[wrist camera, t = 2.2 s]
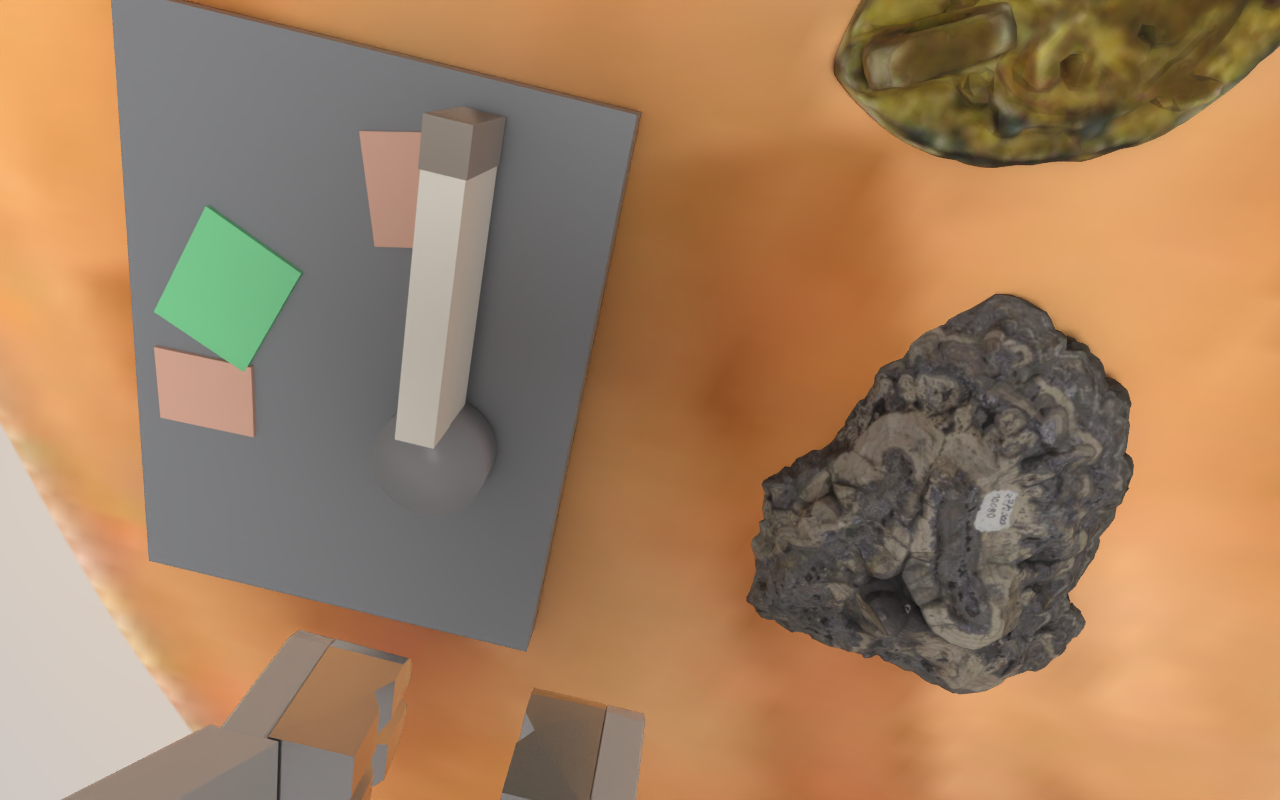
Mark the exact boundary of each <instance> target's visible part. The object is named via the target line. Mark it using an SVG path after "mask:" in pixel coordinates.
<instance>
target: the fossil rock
mask: <svg viewBox="0 0 1280 800" xmlns="http://www.w3.org/2000/svg"><path fill="white" fill-rule="evenodd" d="M1130 407H1131V401H1130V397H1129V394H1128V391H1127V389H1126V388H1125V387H1123V386H1122V385H1121V384H1120V383H1119V382H1117V381H1116V380H1115V379H1112V378H1109V377H1105V371H1104V366H1103V364H1102V362H1101V361H1100V359H1099V358H1097V357H1096V356H1095V355H1093V354H1092V353H1091V352H1090V350H1089V347H1088V346H1087V345H1085V344H1083V343H1079V342H1077V341H1076V339H1074V338H1071V337H1068V336H1065V335H1064V334H1063V333H1062V332H1060V331H1058V330H1055V328H1054V326H1053V323H1052V321H1051V319H1050V317H1049V316H1048V314H1047V312H1045V311H1043V310H1042V309H1040V308H1038V307H1036V306H1034V305H1033V304H1031V303H1030V302H1028V301H1026V300H1023V299H1020V298H1017V297H1014V296H1011V295H1001V294H994V295H993V296H991V297H990V298H988V299H987V300H985V301H983V302H982V303H980V304H978V305H976V306H975V307H973V308H971V309H969V310H967V311H965V312H962V313H960V314H958V315H956V316H954V317H953V318H951V319H949V320H948V321H947V323H946V324H945V325H941V326H939V327H937V328H935V329H932V330H930V331H927V332H925V333H924V334H923V335H922V336H920V337H919V338H918V339H917V340H915V341H914V342H913V343H912V344H911V345H910V348H909V351H908V352H907V353H906V355H905V356H904V358H902V359H899V360H896V361H894V362H891V363H889V364H886V365H885V366H883V367H881V368H880V369H879V371H878V373H877V374H876V376H875V382H874V384H873V386H872V388H871V389H870V391H869V392H868V394H867V396H866V398H865V399H862V400H860V401H859V402H858V403H857V404H856V406H855V408H854V409H853V411H852V412H851V414H850V415H849V417H848V418H847V420H846V422H845V426H844V427H843V428H842V429H841V430H840V431H839V432H838V433H837V435H836V438H835V439H834V440H833V441H832V442H831V443H830V444H829V445H827V446H826V447H825V448H823V449H822V450H812V451H810V452H809V453H807V454H806V455H804V456H802V457H799V458H797V459H796V460H795V462H794V463H793V464H792V466H791V467H786V466H785V467H784V468H783V469H782V470H781V471H780V472H779V473H777V474H775V475H773V476H771V477H768V479H766V480H764V481H763V483H762V486H763V489H764V492H765V495H764V503H763V515H764V520H762V521H760V522H759V525H760V533H759V534H758V535H757V536H755V537H754V538H753V539H752V541H751V546H752V549H753V552H754V555H755V565H756V574H755V577H754V581H753V584H752V586H751V590H750V592H749V594H748V596H747V602H748V603H750V604H752V605H753V606H755V609H756V612H757V613H758V614H759V615H760V616H761V617H762V618H765V619H769V620H775V621H776V622H777V623H778V624H780V625H781V626H783V627H784V628H786V629H787V630H789V631H790V632H803V633H806V634H809V635H810V636H811V637H812V639H815V640H817V641H819V642H821V643H823V644H825V645H828V646H831V647H836V648H840V649H843V650H846V651H848V652H856V653H859V654H862V655H863V657H864V658H871V657H873V656H874V655H879V656H880V657H881V658H882V659H883V660H884V661H887V662H890V663H892V664H895V665H896V666H898V667H900V668H902V669H903V670H906V671H913V672H914V673H916V674H917V675H919V676H920V677H921V678H922V679H924V680H925V681H927V682H929V683H931V684H935V685H939V686H940V687H942V688H944V689H946V690H948V691H950V692H952V693H958V694H967V693H977V692H982V691H987V690H989V689H991V688H993V687H995V686H997V685H999V684H1001V683H1002V682H1003V681H1004V680H1005V679H1006V678H1008V677H1011V676H1014V675H1017V674H1020V673H1023V672H1025V671H1028V670H1029V671H1035V672H1036V671H1038V670H1040V669H1042V668H1044V667H1046V666H1047V665H1048V664H1049V663H1050V661H1051V660H1052V659H1054V658H1056V657H1058V656H1060V655H1061V654H1062V653H1063V652H1064V651H1065V649H1066V645H1067V644H1068V643H1069V642H1070V641H1071V639H1072V638H1074V637H1077V636H1078V635H1079V633H1080V632H1081V631H1082V630H1083V628H1084V626H1085V620H1084V618H1083V616H1082V614H1081V611H1080V610H1079V609H1078V608H1076V607H1075V606H1074V605H1073V603H1070V600H1069V596H1068V593H1069V592H1070V591H1071V590H1072V589H1073V588H1074V587H1075V586H1076V584H1077V582H1078V580H1079V579H1080V577H1081V576H1082V575H1083V573H1084V572H1085V570H1086V568H1087V567H1088V565H1089V564H1090V563H1091V561H1092V560H1093V559H1094V556H1095V553H1096V551H1097V549H1098V547H1099V543H1100V539H1099V537H1100V536H1101V535H1102V533H1103V532H1104V531H1105V530H1106V529H1107V528H1108V527H1109V525H1110V524H1111V522H1112V521H1113V520H1114V518H1115V512H1116V507H1117V506H1119V505H1120V504H1121V503H1122V501H1123V498H1124V495H1125V493H1126V492H1127V490H1128V489H1129V488H1128V485H1129V483H1130V480H1131V477H1132V475H1133V467H1134V465H1133V461H1132V458H1131V457H1130V456H1129V455H1128V454H1126V453H1125V451H1126V448H1127V442H1128V434H1129V428H1130V424H1129V412H1130Z"/></svg>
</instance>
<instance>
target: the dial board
mask: <svg viewBox="0 0 1280 800" xmlns="http://www.w3.org/2000/svg"><path fill="white" fill-rule="evenodd" d="M111 4H112V19H113V34H114V49H115V63H116V78H117V93H118V108H119V123H120V138H121V152H122V167H123V182H124V197H125V212H126V227H127V241H128V256H129V271H130V286H131V301H132V316H133V330H134V345H135V360H136V375H137V390H138V405H139V419H140V434H141V449H142V464H143V479H144V494H145V508H146V523H147V538H148V553H149V561H153V562H157V563H161V564H165V565H169V566H173V567H178V568H182V569H186V570H190V571H194V572H198V573H202V574H207V575H211V576H215V577H219V578H223V579H227V580H232V581H236V582H240V583H244V584H248V585H252V586H256V587H261V588H265V589H269V590H273V591H277V592H281V593H285V594H290V595H294V596H298V597H302V598H306V599H310V600H314V601H319V602H323V603H327V604H331V605H335V606H339V607H343V608H348V609H352V610H356V611H360V612H364V613H368V614H372V615H377V616H381V617H385V618H389V619H393V620H397V621H402V622H406V623H410V624H414V625H418V626H422V627H426V628H431V629H435V630H439V631H443V632H447V633H451V634H455V635H460V636H464V637H468V638H472V639H476V640H480V641H484V642H489V643H493V644H497V645H501V646H505V647H509V648H513V649H518V650H522V651H527V648H528V645H529V642H530V639H531V636H532V633H533V630H534V625H535V621H536V616H537V611H538V606H539V601H540V597H541V592H542V587H543V582H544V577H545V573H546V568H547V563H548V558H549V553H550V548H551V544H552V539H553V534H554V529H555V524H556V520H557V515H558V510H559V505H560V500H561V496H562V491H563V486H564V481H565V476H566V472H567V467H568V462H569V457H570V452H571V448H572V443H573V438H574V433H575V428H576V424H577V419H578V414H579V409H580V404H581V399H582V395H583V390H584V385H585V380H586V375H587V371H588V366H589V361H590V356H591V351H592V347H593V342H594V337H595V332H596V327H597V323H598V318H599V313H600V308H601V303H602V299H603V294H604V289H605V284H606V279H607V275H608V270H609V265H610V260H611V255H612V251H613V246H614V241H615V236H616V231H617V226H618V222H619V217H620V212H621V207H622V202H623V198H624V193H625V188H626V183H627V178H628V174H629V169H630V164H631V159H632V154H633V150H634V145H635V140H636V135H637V130H638V126H639V121H640V116H641V112H639V111H634V110H630V109H626V108H622V107H618V106H614V105H610V104H606V103H602V102H598V101H594V100H589V99H585V98H581V97H577V96H573V95H569V94H565V93H561V92H557V91H553V90H548V89H544V88H540V87H536V86H532V85H528V84H524V83H520V82H516V81H512V80H507V79H503V78H499V77H495V76H491V75H487V74H483V73H479V72H475V71H471V70H467V69H462V68H458V67H454V66H450V65H446V64H442V63H438V62H434V61H430V60H426V59H421V58H417V57H413V56H409V55H405V54H401V53H397V52H393V51H389V50H385V49H381V48H376V47H372V46H368V45H364V44H360V43H356V42H352V41H348V40H344V39H340V38H335V37H331V36H327V35H323V34H319V33H315V32H311V31H307V30H303V29H299V28H294V27H290V26H286V25H282V24H278V23H274V22H270V21H266V20H262V19H258V18H254V17H249V16H245V15H241V14H237V13H233V12H229V11H225V10H221V9H217V8H213V7H208V6H204V5H200V4H196V3H192V2H188V1H184V0H111ZM460 106H464V107H469V108H473V109H477V110H481V111H485V112H489V113H493V114H497V115H501V116H505V117H506V120H505V128H504V135H503V142H502V149H501V157H500V164H499V165H498V166H497V173H496V180H495V187H494V195H493V202H492V209H491V217H490V224H489V231H488V239H487V246H486V254H485V261H484V268H483V276H482V283H481V290H480V298H479V305H478V312H477V320H476V327H475V334H474V342H473V349H472V356H471V364H470V371H469V378H468V386H467V393H466V400H465V402H467V403H468V404H470V405H471V406H473V407H474V408H475V409H477V410H478V411H479V412H480V413H481V414H482V415H483V416H484V418H485V419H486V420H487V422H488V423H489V425H490V427H491V429H492V431H493V433H494V436H495V440H496V447H497V452H496V459H495V463H494V465H493V467H492V469H491V471H490V473H489V475H488V476H487V478H486V480H485V482H484V484H483V485H482V487H481V489H480V491H479V493H478V494H477V496H476V498H475V499H474V500H473V501H472V502H471V503H470V504H469V505H468V506H467V507H466V508H464V509H462V510H461V511H458V512H456V513H453V514H450V515H445V516H427V515H421V514H418V513H414V512H412V511H410V510H407V509H405V508H403V507H402V506H400V505H398V504H397V503H396V502H394V501H393V500H392V499H391V498H390V497H388V495H387V494H386V493H385V492H384V491H383V490H382V488H381V487H380V486H379V484H378V482H377V481H376V479H375V476H374V474H373V471H372V467H371V448H372V445H373V442H374V440H375V438H376V436H377V434H378V433H379V432H380V430H381V429H382V428H383V427H384V426H385V425H386V424H387V423H388V422H389V421H390V419H391V418H392V417H393V416H394V415H395V414H396V413H397V409H398V399H399V388H400V378H401V367H402V356H403V346H404V335H405V325H406V314H407V303H408V293H409V282H410V272H411V261H412V250H413V240H414V229H415V219H416V208H417V197H418V187H419V176H420V169H418V163H419V152H420V141H421V131H422V120H423V113H427V112H432V111H438V110H443V109H449V108H454V107H460Z"/></svg>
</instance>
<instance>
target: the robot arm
mask: <svg viewBox="0 0 1280 800" xmlns="http://www.w3.org/2000/svg"><path fill="white" fill-rule="evenodd" d="M411 666H412V661H411V660H410V659H409V658H405V657H401V656H398V655H394V654H390V653H387V652H383V651H379V650H375V649H372V648H368V647H364V646H361V645H357V644H353V643H350V642H346V641H342V640H338V639H337V640H336V639H332V638H328V637H325V636H321V635H317V634H314V633H310V632H306V631H302V630H299V631H297V632H296V633H294V634H293V635H292V636H290V637H289V638H288V639H287V640H286V642H285V643H284V644H283V646H282V647H281V648H280V650H279V651H278V652H277V654H276V655H275V656H274V658H273V659H272V660H271V662H270V663H269V664H268V666H267V667H266V668H265V670H264V671H263V672H262V674H261V675H260V676H259V678H258V679H257V680H256V682H255V683H254V684H253V686H252V687H251V688H250V690H249V691H248V692H247V694H246V695H245V696H244V698H243V699H242V700H241V702H240V703H239V704H238V706H237V707H236V708H235V709H234V711H233V712H232V713H231V715H230V716H229V717H228V719H227V720H226V721H225V723H224V724H223V725H222V727H218V726H213V725H208V726H206V727H204V728H202V729H200V730H198V731H196V732H194V733H192V734H190V735H188V736H186V737H184V738H182V739H180V740H178V741H176V742H174V743H172V744H170V745H168V746H166V747H164V748H163V749H160V750H158V751H157V752H155V753H152V754H150V755H149V756H147V757H145V758H143V759H141V760H139V761H137V762H135V763H133V764H131V765H129V766H127V767H125V768H123V769H121V770H119V771H117V772H115V773H113V774H111V775H109V776H107V777H105V778H103V779H102V780H99V781H97V782H95V783H94V784H91V785H89V786H87V787H86V788H83V789H81V790H80V791H78V792H76V793H74V794H72V795H70V796H68V797H66V798H64V799H62V800H370V799H371V791H372V787H373V786H375V785H376V784H378V783H379V782H381V781H382V780H384V778H385V776H386V774H387V771H388V769H389V767H390V765H391V763H392V760H393V758H394V755H395V752H396V749H397V746H398V744H399V741H400V738H401V735H402V730H403V726H404V722H405V717H406V710H407V704H406V702H405V701H404V699H403V698H402V696H403V694H404V692H405V690H406V688H407V686H408V684H409V682H410V677H411ZM644 726H645V718H644V715H643V713H640V712H635V711H631V710H627V709H622V708H618V707H614V706H610V705H607V706H606V704H602V703H598V702H593V701H589V700H584V699H580V698H576V697H571V696H567V695H563V694H558V693H554V692H550V691H545V690H541V689H537V688H534V689H533V691H532V693H531V697H530V700H529V703H528V706H527V709H526V713H525V717H524V722H523V726H522V730H521V735H520V739H519V742H517V743H516V746H515V750H514V753H513V757H512V760H511V763H510V767H509V770H508V774H507V777H506V781H505V784H504V788H503V791H502V795H501V799H500V800H636V798H637V789H638V780H639V771H640V762H641V753H642V744H643V735H644Z"/></svg>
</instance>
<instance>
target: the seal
mask: <svg viewBox="0 0 1280 800" xmlns="http://www.w3.org/2000/svg"><path fill="white" fill-rule="evenodd" d="M1279 46H1280V0H862V1H861V3H860V5H859V7H858V8H857V10H856V12H855V14H854V16H853V18H852V20H851V22H850V24H849V26H848V28H847V30H846V32H845V35H844V37H843V39H842V41H841V44H840V46H839V48H838V51H837V53H836V57H835V62H834V70H835V76H836V78H837V79H838V81H839V82H840V83H841V85H842V86H843V87H844V89H845V90H846V91H847V92H848V93H849V94H850V96H851V97H852V98H853V99H854V100H855V101H856V102H857V104H858V105H859V106H860V107H862V108H863V109H864V110H866V112H867V113H868V114H869V115H870V116H871V117H872V118H873V119H874V120H875V121H876V122H877V123H878V124H879V125H880V126H882V127H883V128H884V129H886V130H887V131H889V132H890V133H891V134H893V135H894V136H896V137H897V138H899V139H901V140H902V141H904V142H906V143H908V144H909V145H911V146H913V147H915V148H918V149H920V150H923V151H925V152H927V153H930V154H932V155H934V156H937V157H942V158H947V159H954V160H958V161H960V162H962V163H964V164H968V165H972V166H978V167H985V168H997V167H1004V166H1013V165H1035V164H1041V163H1048V162H1057V161H1073V162H1082V161H1086V160H1090V159H1094V158H1097V157H1100V156H1102V155H1105V154H1108V153H1111V152H1113V151H1116V150H1119V149H1124V148H1129V147H1134V146H1137V145H1140V144H1143V143H1145V142H1148V141H1151V140H1153V139H1156V138H1158V137H1160V136H1162V135H1164V134H1166V133H1168V132H1169V131H1171V130H1172V129H1174V128H1175V127H1177V126H1179V125H1181V124H1183V123H1184V122H1186V121H1188V120H1189V119H1190V118H1192V117H1193V116H1195V115H1196V114H1198V113H1199V112H1200V111H1202V110H1203V109H1205V108H1206V107H1207V106H1209V105H1210V104H1212V103H1213V102H1214V101H1216V100H1217V99H1218V98H1220V97H1221V96H1222V95H1224V94H1225V93H1226V92H1228V91H1229V90H1230V89H1232V88H1233V87H1234V86H1235V85H1237V84H1238V83H1239V82H1240V81H1241V80H1242V79H1244V78H1245V77H1246V76H1247V75H1248V74H1249V73H1250V72H1251V71H1252V70H1253V69H1254V68H1255V67H1256V65H1257V64H1258V63H1259V62H1261V61H1262V60H1263V59H1265V58H1266V57H1267V56H1269V55H1270V54H1271V53H1273V52H1274V51H1275V50H1276V49H1277V48H1278V47H1279Z"/></svg>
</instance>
